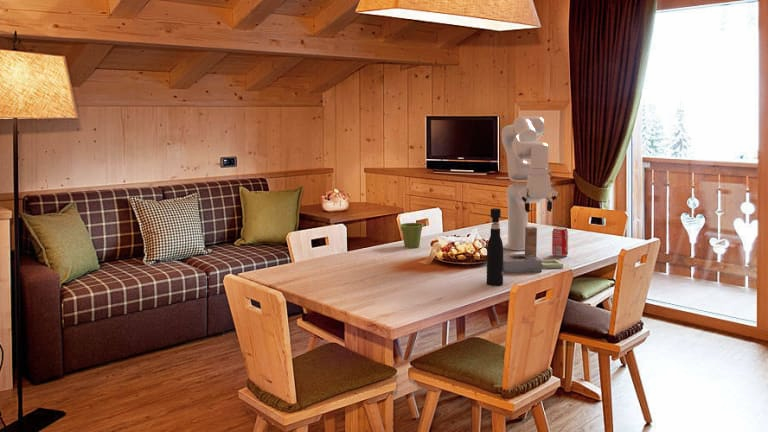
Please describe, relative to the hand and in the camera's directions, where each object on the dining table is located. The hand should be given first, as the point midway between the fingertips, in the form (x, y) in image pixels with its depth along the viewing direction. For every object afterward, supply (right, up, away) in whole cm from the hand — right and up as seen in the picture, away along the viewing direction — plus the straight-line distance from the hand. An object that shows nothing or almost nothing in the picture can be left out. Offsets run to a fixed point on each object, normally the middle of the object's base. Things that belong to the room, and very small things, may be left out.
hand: (538, 211), depth 327 cm
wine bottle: (-23, -29, -29) cm, 47 cm away
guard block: (-9, -25, -3) cm, 27 cm away
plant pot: (-53, -18, +47) cm, 73 cm away
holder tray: (+5, -24, +1) cm, 24 cm away
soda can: (+14, -21, +22) cm, 34 cm away
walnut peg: (-2, -23, +8) cm, 24 cm away
